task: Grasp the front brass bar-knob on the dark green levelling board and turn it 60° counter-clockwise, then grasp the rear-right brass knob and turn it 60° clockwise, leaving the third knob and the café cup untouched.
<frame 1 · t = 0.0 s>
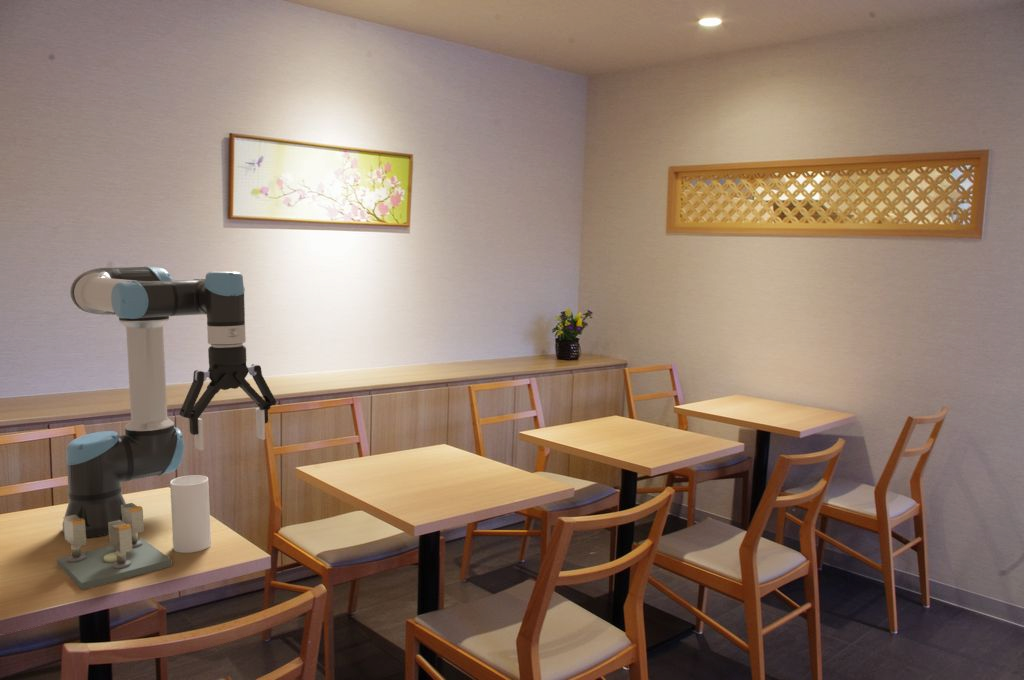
hand: (231, 443, 170), 28 cm above the table, fingers open, 13 cm apart
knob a: (75, 536, 174), point 7 cm above the table, hinge at 0.0°
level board: (114, 565, 175), on the table
cup: (192, 547, 186), on the table
knob b: (132, 523, 182), point 7 cm above the table, hinge at 0.0°
knob c: (120, 542, 171), point 7 cm above the table, hinge at 0.0°
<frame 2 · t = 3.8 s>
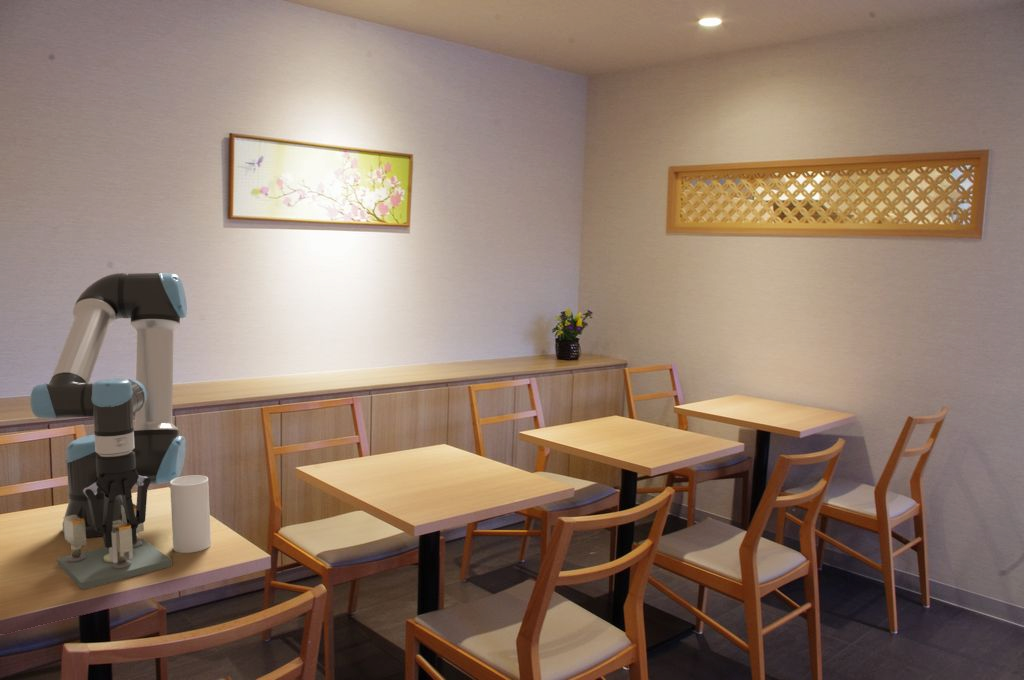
hand: (121, 558, 171), 3 cm above the table, fingers closed on knob c, 2 cm apart
knob c: (120, 542, 171), point 7 cm above the table, hinge at 0.0°, touching gripper
everything else where it was.
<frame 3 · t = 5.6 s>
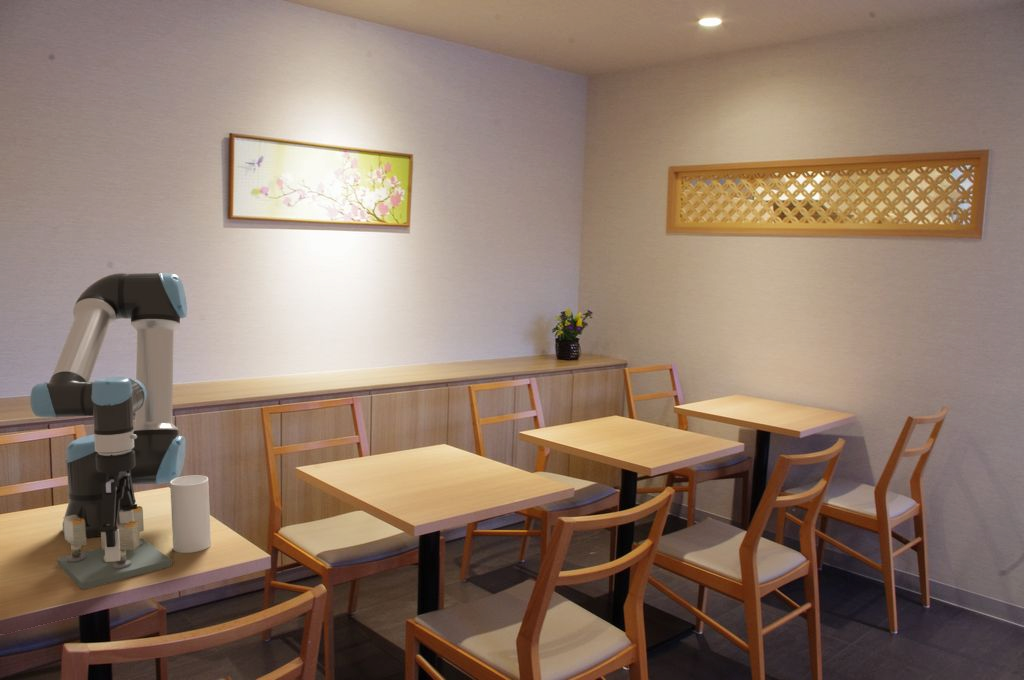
hand: (120, 549, 171), 5 cm above the table, fingers open, 12 cm apart
knob b: (132, 523, 182), point 7 cm above the table, hinge at 0.0°, touching gripper
knob c: (120, 542, 171), point 7 cm above the table, hinge at 43.1°
everything else where it was.
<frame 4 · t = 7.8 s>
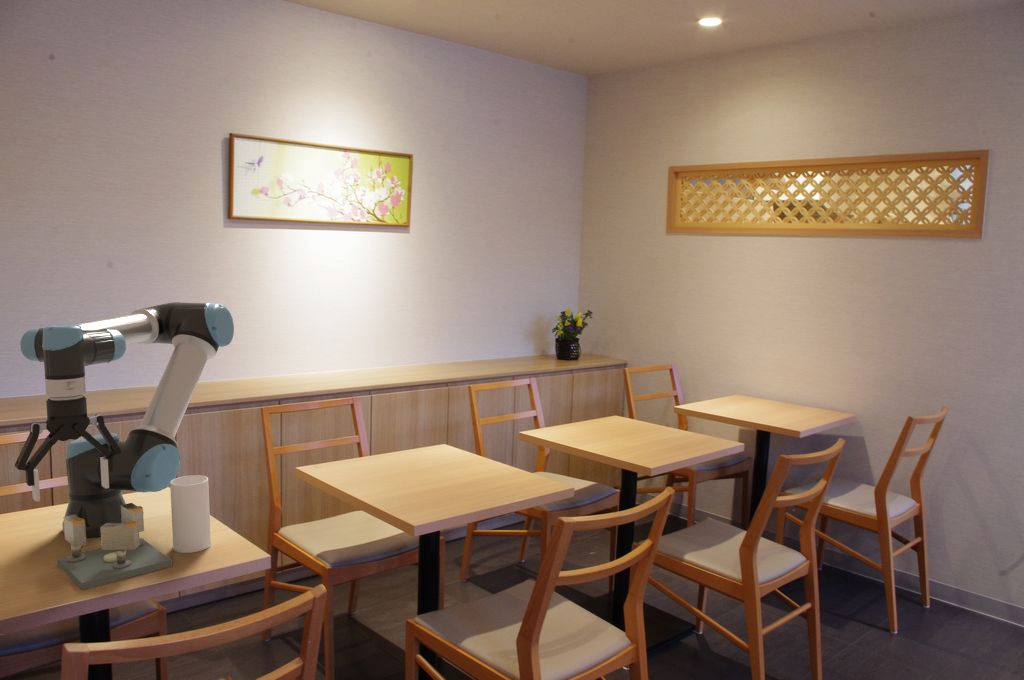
hand: (71, 493, 173), 16 cm above the table, fingers open, 13 cm apart
knob b: (132, 523, 182), point 7 cm above the table, hinge at 1.2°
knob c: (120, 542, 171), point 7 cm above the table, hinge at 47.1°
everything else where it was.
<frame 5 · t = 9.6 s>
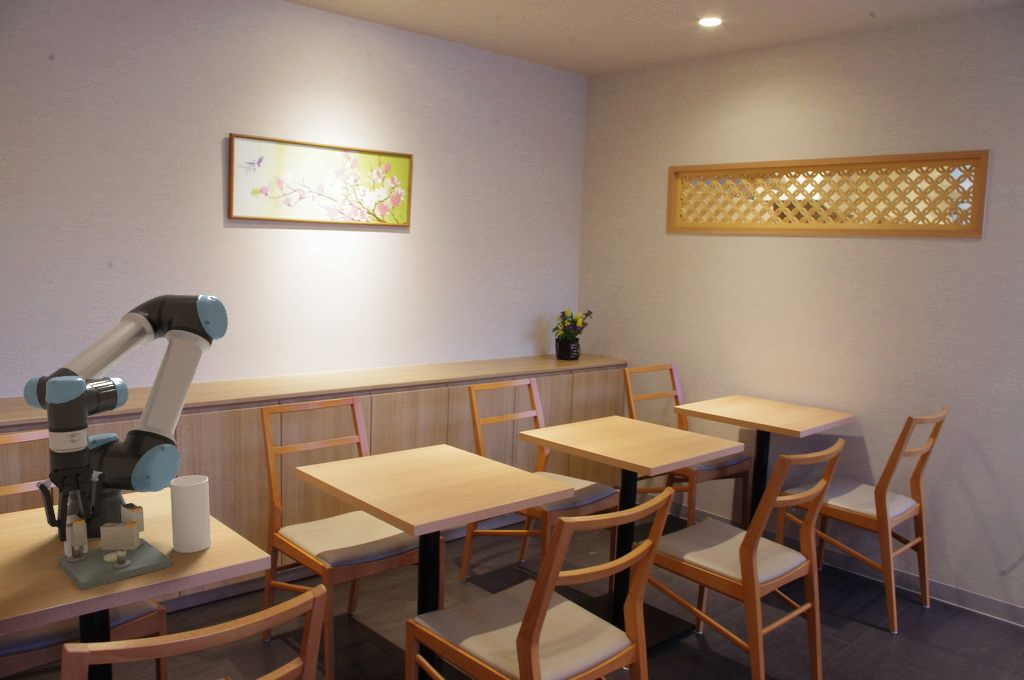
hand: (76, 552, 175), 3 cm above the table, fingers closed on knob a, 2 cm apart
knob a: (75, 536, 174), point 7 cm above the table, hinge at 0.0°, touching gripper
everything else where it was.
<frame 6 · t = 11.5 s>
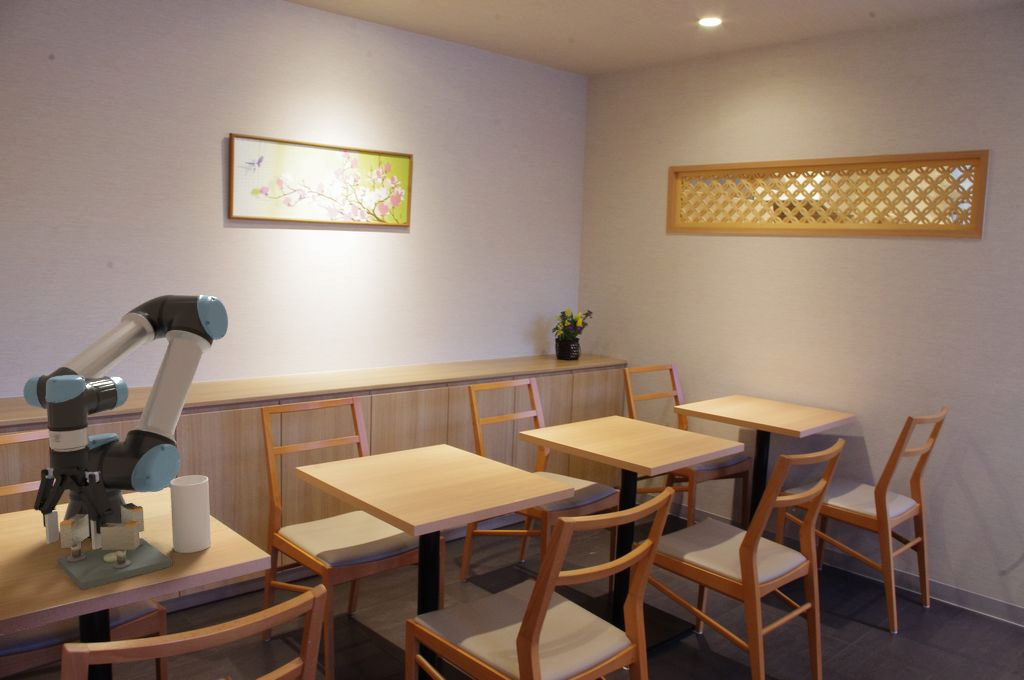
hand: (75, 544, 174), 5 cm above the table, fingers open, 11 cm apart
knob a: (75, 536, 174), point 7 cm above the table, hinge at -43.1°
knob c: (120, 542, 171), point 7 cm above the table, hinge at 47.2°, touching gripper
everything else where it was.
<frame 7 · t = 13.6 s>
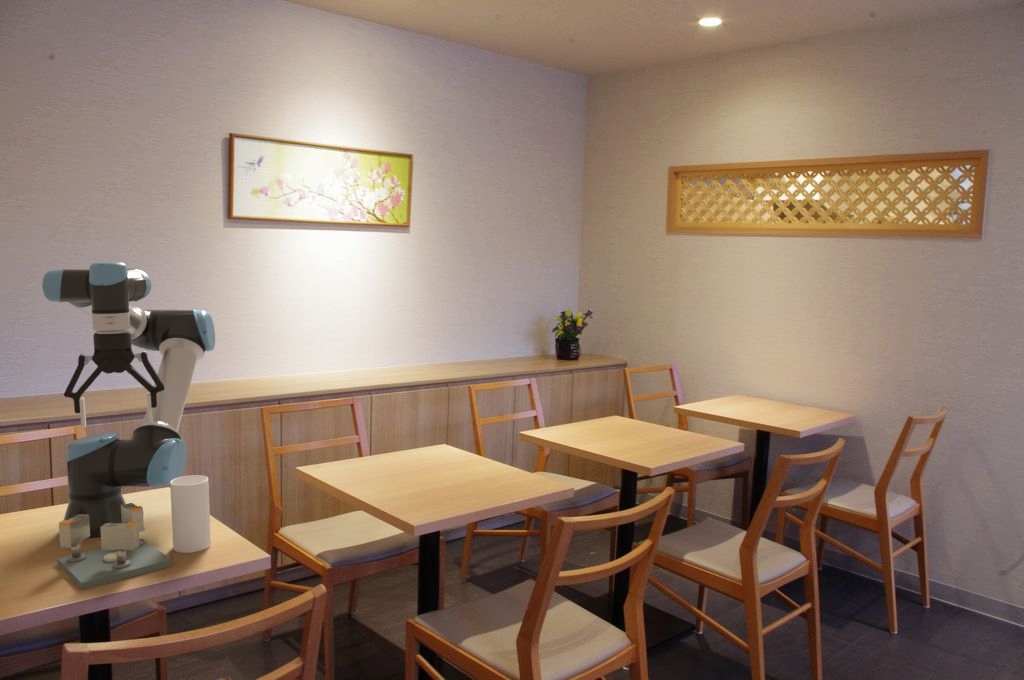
hand: (117, 424, 180), 30 cm above the table, fingers open, 13 cm apart
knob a: (75, 536, 174), point 7 cm above the table, hinge at -47.5°
knob c: (120, 542, 171), point 7 cm above the table, hinge at 46.1°
everything else where it was.
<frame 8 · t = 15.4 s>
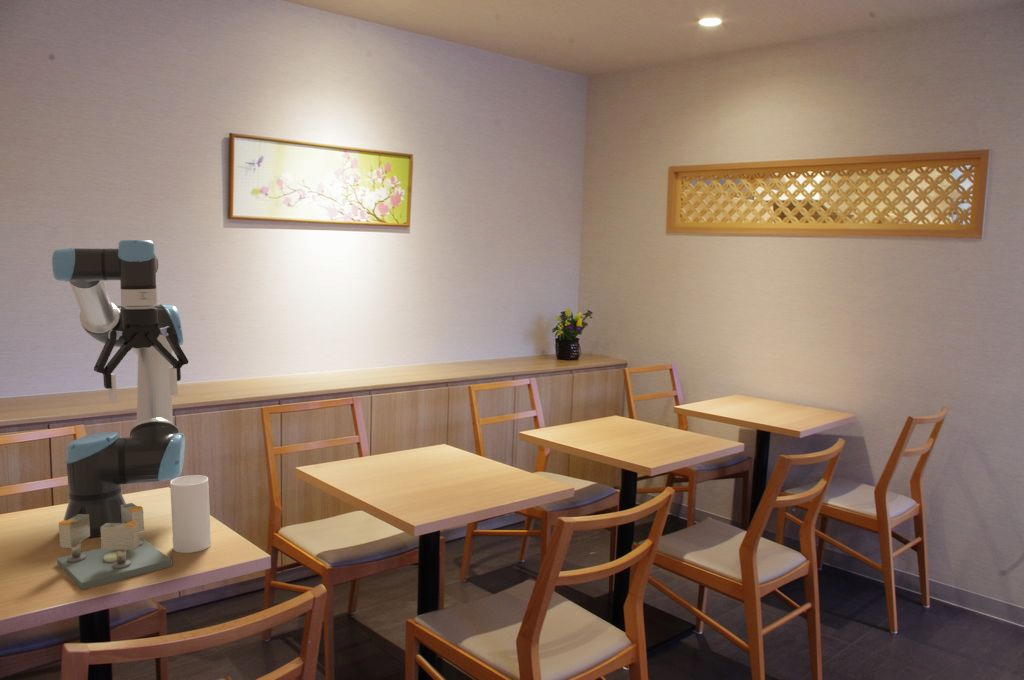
hand: (144, 398, 185), 35 cm above the table, fingers open, 13 cm apart
nothing on the table moved.
at the end: knob c at +46° (first picture: +0°); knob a at -48° (first picture: +0°); knob b at +1° (first picture: +0°) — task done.
